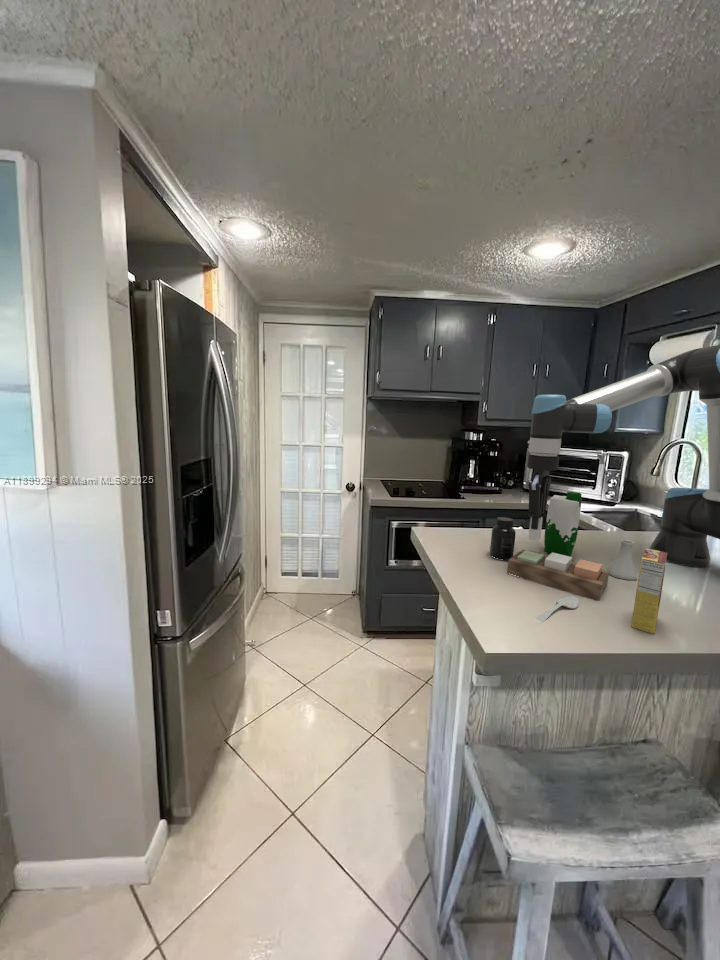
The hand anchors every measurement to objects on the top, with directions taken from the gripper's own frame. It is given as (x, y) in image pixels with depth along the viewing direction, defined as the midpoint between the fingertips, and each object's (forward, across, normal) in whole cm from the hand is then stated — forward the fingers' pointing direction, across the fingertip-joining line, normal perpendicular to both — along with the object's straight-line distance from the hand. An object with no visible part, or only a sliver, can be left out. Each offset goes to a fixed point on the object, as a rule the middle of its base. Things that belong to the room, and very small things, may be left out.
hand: (534, 539), depth 108 cm
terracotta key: (+8, 0, +14) cm, 16 cm away
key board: (+9, 0, +7) cm, 11 cm away
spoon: (+10, +21, +11) cm, 26 cm away
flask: (+10, -17, +20) cm, 28 cm away
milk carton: (+10, -24, +2) cm, 26 cm away
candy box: (+10, +11, +27) cm, 31 cm away
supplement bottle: (+10, -6, -10) cm, 15 cm away
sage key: (+9, 0, 0) cm, 9 cm away
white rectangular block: (+7, 0, +7) cm, 10 cm away
